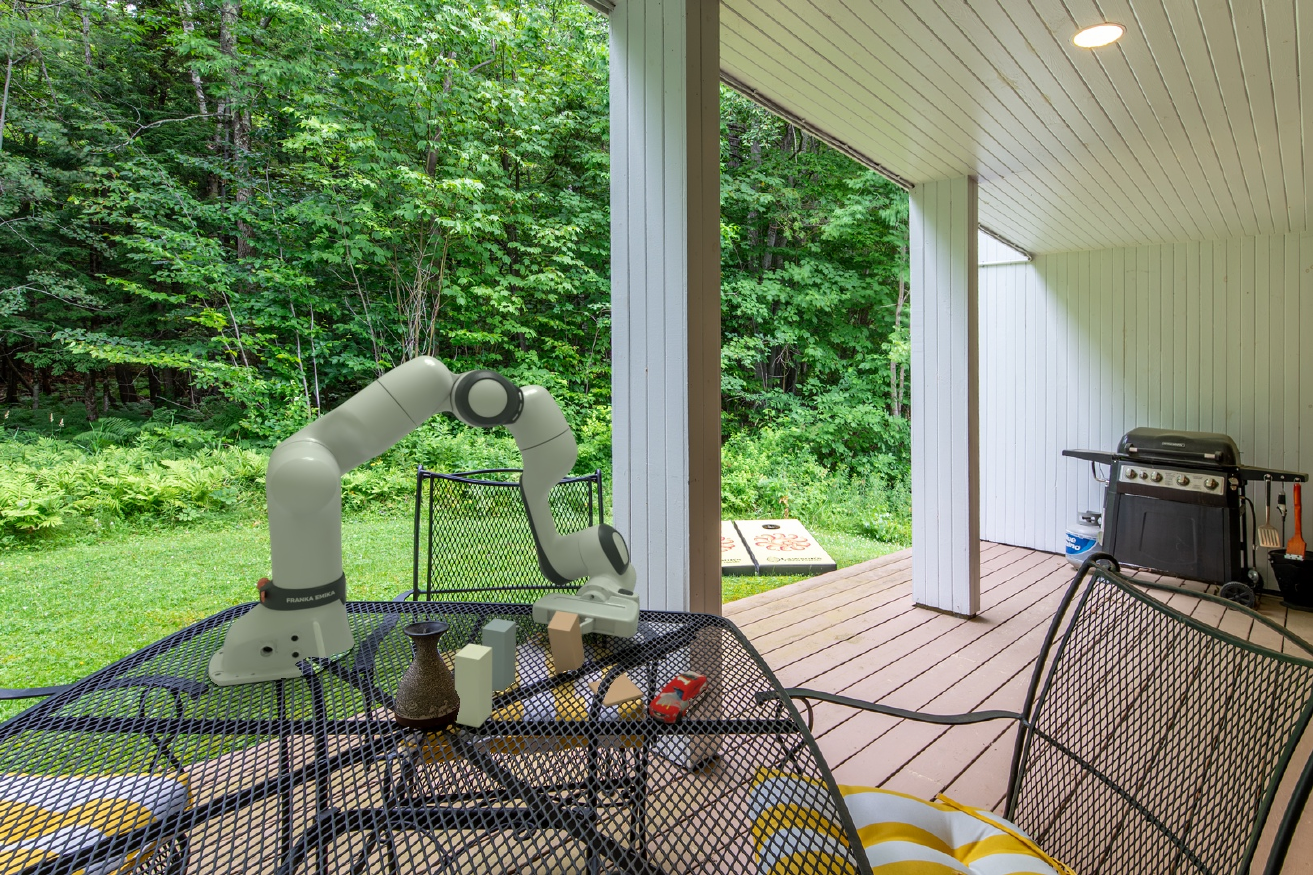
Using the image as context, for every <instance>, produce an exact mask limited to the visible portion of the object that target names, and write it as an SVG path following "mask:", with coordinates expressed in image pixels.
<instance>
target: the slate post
mask: <svg viewBox="0 0 1313 875" xmlns="http://www.w3.org/2000/svg"><path fill="white" fill-rule="evenodd" d="M481 632H482V635H481V640H482V642H481V643H482V644H481V646H486V647H492V691H504V690H506V688H507V687H509V686H510V685H511V684H512V683H514V682H515V683H516V663H517V662H516V658H517V657H516V655H517V653H516V648H517V646H516V644H517V640H516V639H517V621H512V620H505V619H500V618H495V617H494V618H493V619H492V620H491V621H490V622H488V623H487V624H486V625H485V626H483V627H482V630H481ZM515 683H514V684H515Z"/></svg>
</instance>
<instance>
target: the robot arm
mask: <svg viewBox="0 0 1313 875" xmlns="http://www.w3.org/2000/svg"><path fill="white" fill-rule="evenodd" d="M442 412H446V413H448V414H450V415H451V416H452V417H454V418H455V419H456V420H458V421H460V422H462V424H464V425H466V426H470V427H473V428H494V427H500V426H504V427H505V428H506V429H507V431H509V433H510V434H511V435H512V436H513V438H514V442H515V444H516V446H517V448H518V451H519V453H520V454H521V458H522V465H523V471H522V473H521V474H520V476H519V479H518V487H519V492H520V496H521V500H522V503H523V504H522V505H523V508H524V512H525V514H526V519H527V521H528V524H529V528H530V532H531V535H532V539H533V542H534V545H535V548H536V555H537V561H538V562H537V563H538V566H539V570H540V573H541V575H542V576H543V578H544V579H546V580H548V582H550V583H552V584H554V585H556V586H560V587H562V586H565V585H567V584H570V583H572V582H575V581H577V580H579V579H582V578H585V577H589V578H588V580H587V581H586V582H585V583H584V584H583V585H582V586H581V587H580V588H579V589H578V591H577V592H576V594H575V595H574V594H567V593H561V592H551V593H547V594H546V595H543V596H542V597H540V598H539V599H538V600H537V601H535V602H533V605H532V620H533V621H534V622H535V623H537V624H543V625H548V626H549V624H550V622H551V620H552V618H553V616H554V615H555V613H556V611H561V612H567V613H573V614H578V617H579V624H580V630H581V636H582V635H585V634H589V633H595V634H601V635H608V636H613V637H621V638H626V639H628V638H629V639H630V638H633V637H634V636H636V633H637V631H638V628H639V619H640V618H639V617H640V608H641V607H640V606H641V605H640V594H638V593H637V592H635V588H636V584H637V571H636V569H635V567H634V565H633V563H631V562H630V554H629V553H630V552H629V549H628V545H627V543H626V541H625V539H624V537H623V535H622V534H621V532H619V531H618V530H617V529H616V528H615V527H613V526H611V525H609V524H608V523H600V524H596V525H592V526H590V527H585V528H583V529H580V530H579V531H575V532H572V533H569V534H565V535H561V534H560V533H558V531H557V528H556V525H555V524H556V523H555V522H554V521H555V520H554V518H553V514H552V511H551V507H550V504H549V495H550V492H551V490H552V489H553V488H554V487H556V485H557V484H559V483H560V482H562V480H563V479H564V478H565V477H566V476H567V475H568V474H569V473H570V472H571V471H572V469H573V468H574V466H575V464H576V462H577V459H578V454H579V449H578V445H577V442H576V438H575V436H574V434H573V432H572V429H571V427H570V425H569V423H568V421H567V418H566V417H565V415H564V413H563V412H562V410H561V409H560V406H559V405H558V403H557V402H556V400H555V399H554V397H553V396H552V395H551V392H549V391H548V390H547V388H545V387H544V386H541V385H539V384H529V385H524V386H521V387H519V386H517V385H516V384H515V383H513V382H512V381H510V380H509V379H508V378H506V377H505V376H504V375H503V374H501V373H499V372H497V371H494V370H492V369H491V370H490V369H472V370H469V371H466V372H462V373H454V372H452V371H451V370H449V369H448V367H447V366H446V365H445V364H444V362H442V361H440V360H439V359H437V358H436V357H433V356H431V355H430V356H429V355H418V356H417V357H414V358H412V359H410V360H408V361H406V362H404V363H402V364H400V365H398V366H396V367H395V368H392V369H391V370H390V371H387V372H386V373H384V374H383V375H381V376H380V377H378V378H376V380H374V381H373V382H371V383H370V384H368V385H367V386H366V387H364V388H363V389H361V390H360V391H359V392H357V393H356V394H354V395H353V396H352V397H350V398H349V399H347V400H346V401H344V403H342V404H340V405H339V406H337V407H336V408H334V409H333V410H331V411H328V412H327V413H326V414H324V415H322V416H321V417H319V418H317V419H316V420H314V421H312V422H311V423H309V424H308V425H305V427H302V428H301V429H299V430H298V431H296V432H295V433H293V434H292V435H290V436H289V437H287V438H286V439H284V440H283V441H281V442H280V443H279V444H277V445H276V446H275V447H274V449H273V450H272V452H271V453H270V456H269V460H268V464H267V467H266V472H265V480H264V481H265V493H266V496H265V498H266V507H267V508H266V510H267V519H268V530H269V531H268V532H269V539H270V557H271V576H272V577H271V578H272V579H269V578H268V577H261V578H259V579H258V580H257V582H256V584H257V585H256V588H257V590H258V592H259V593H258V594H259V595H258V596H259V597H258V598H259V603H258V604H257V605H256V606H254V607H252V609H250V610H249V611H247V612H246V613H244V614H243V615H242V616H241V617H239V618H238V619H237V620H236V621H235V622H233V624H231V626H230V627H229V629H228V631H227V633H226V635H225V639H224V643H223V646H222V647H221V648H220V649H218V650H217V651H216V652H215V653H214V654H213V655H212V657H211V659H210V660H209V664H208V674H209V675H208V674H207V675H208V678H209V677H210V679H211V680H212V681H213V682H214V683H215V684H217V685H218V686H219V687H226V686H233V685H242V684H251V683H259V682H269V681H274V680H275V681H277V680H282V679H281V678H286V679H293V678H300V676H301V670H299V667H297V666H295V664H296V663H297V662H299V661H303V659H305V658H308V657H319V658H324V657H329V656H331V655H333V654H336V653H340V652H344V651H346V650H348V649H349V648H352V647H353V645H354V644H355V645H356V641H355V639H354V637H353V633H352V631H351V628H350V625H349V621H348V616H347V610H346V603H347V597H348V594H347V592H348V590H347V588H348V587H347V577H346V574H345V571H344V570H343V549H342V545H343V544H342V477H343V476H344V475H347V473H349V472H351V471H352V470H354V469H355V468H358V467H359V466H361V465H362V464H364V463H366V462H368V461H371V460H372V459H374V458H376V457H378V456H381V455H382V454H384V453H385V452H387V451H388V450H389V449H390V448H392V447H393V446H395V444H397V443H398V442H400V441H401V440H403V439H404V438H405V437H406V436H408V435H410V433H412V432H413V431H414V430H416V429H417V428H419V427H420V426H421V425H422V424H423V423H425V422H426V421H428V420H429V419H430V418H432V417H433V416H436V415H437V414H440V413H442ZM210 679H209V680H210ZM215 684H214V685H215ZM217 685H216V686H217ZM218 686H217V687H218Z"/></svg>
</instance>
